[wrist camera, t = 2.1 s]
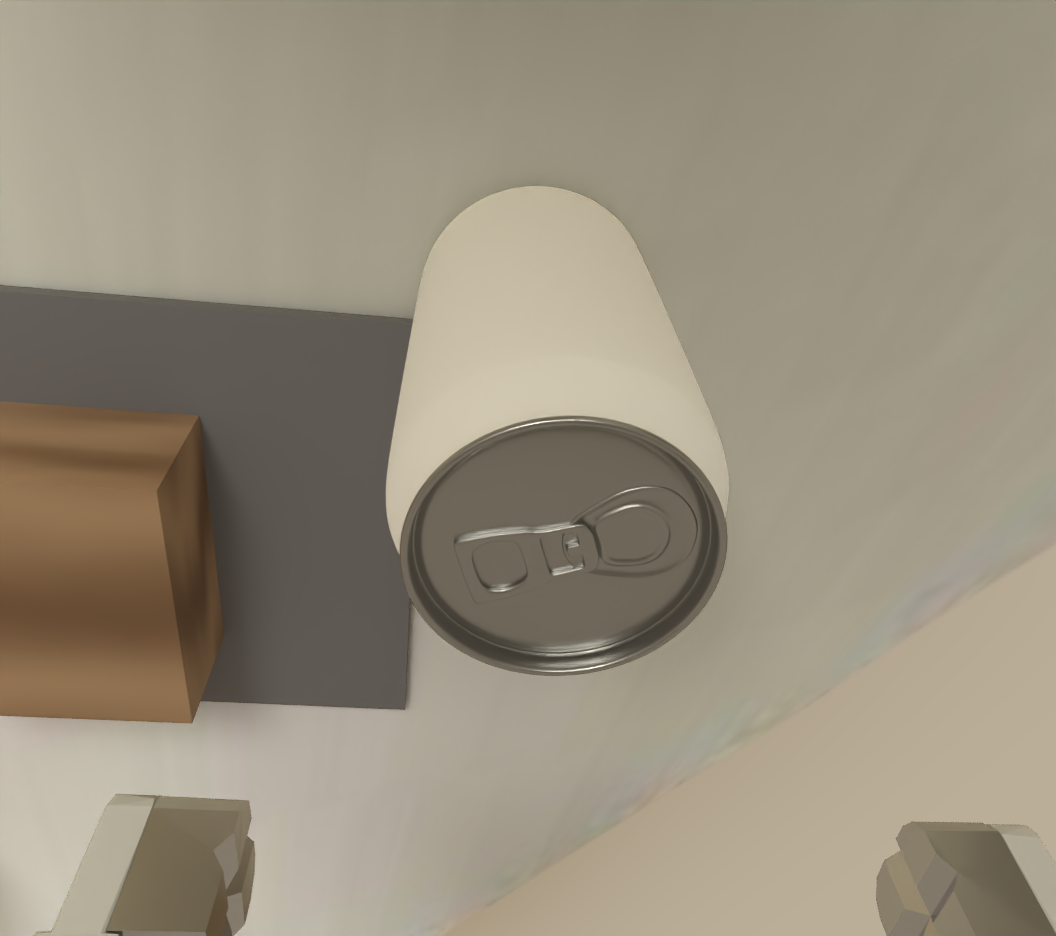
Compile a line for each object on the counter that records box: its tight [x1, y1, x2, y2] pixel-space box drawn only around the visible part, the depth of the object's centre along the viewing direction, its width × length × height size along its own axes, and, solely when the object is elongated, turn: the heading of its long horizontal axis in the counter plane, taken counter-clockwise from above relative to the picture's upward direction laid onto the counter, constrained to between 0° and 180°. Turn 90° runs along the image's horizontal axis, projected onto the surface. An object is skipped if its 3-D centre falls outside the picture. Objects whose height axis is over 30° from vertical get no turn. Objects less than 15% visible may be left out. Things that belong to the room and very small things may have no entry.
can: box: [386, 186, 729, 676], centre depth 20 cm, size 6×6×12 cm
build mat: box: [0, 285, 413, 710], centre depth 28 cm, size 16×22×1 cm
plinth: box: [0, 401, 224, 723], centre depth 27 cm, size 9×9×4 cm
